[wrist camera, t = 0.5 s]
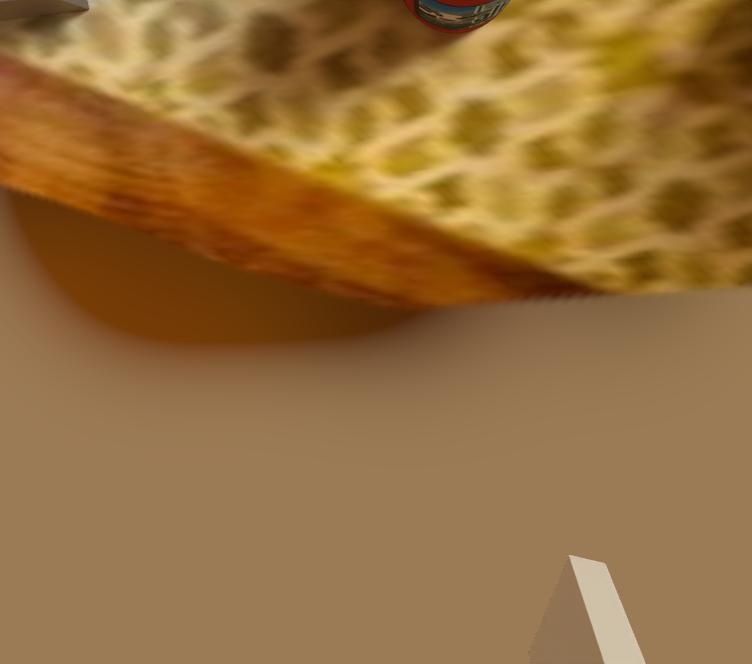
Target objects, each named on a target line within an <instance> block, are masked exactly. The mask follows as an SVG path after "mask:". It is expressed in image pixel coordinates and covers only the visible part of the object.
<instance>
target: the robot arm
mask: <svg viewBox="0 0 752 664" xmlns="http://www.w3.org/2000/svg"><path fill="white" fill-rule="evenodd" d="M528 654H529V660H530V664H646V663H645V661H644V659H643V656H642V654H641V651H640V648H639V646H638V644H637V641H636V639H635V636H634V634H633V631H632V629H631V626H630V624H629V621H628V619H627V616H626V614H625V611H624V609H623V607H622V604H621V602H620V599H619V597H618V594H617V592H616V589H615V587H614V584H613V582H612V579H611V577H610V574H609V572H608V570H607V567H606V565H605V563H601V562H597V561H593V560H588V559H584V558H580V557H575V556H571V555H569V556H568V558H567V560H566V563H565V565H564V568H563V570H562V572H561V575H560V577H559V580H558V582H557V584H556V587H555V589H554V592H553V594H552V596H551V599H550V601H549V604H548V606H547V608H546V611H545V613H544V615H543V618H542V620H541V623H540V625H539V627H538V630H537V632H536V634H535V637H534V639H533V642H532V644H531V646H530V649H529V651H528Z"/></svg>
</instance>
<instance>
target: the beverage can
mask: <svg viewBox="0 0 752 664" xmlns="http://www.w3.org/2000/svg"><path fill="white" fill-rule="evenodd" d="M404 1H405V3H406V5H407V7H408V8H409V9H410V11H411V12H412V13H413V14H414V15H415V16H416V17H417V18H418V19H419V20H420V21H421V22H423V23H424V24H425V25H427V26H429V27H431V28H433V29H435V30H438V31H441V32H446V33H463V32H468V31H472V30H475V29H477V28H480V27H482V26H484V25H485V24H487V23H488V22H490V21H491V20H493V19H494V18H495V17H496V16H497V15H498V14H499V13H500V12H501V11H502V10H503V9H504V8H505V6H506V5H507V4H508V3H509V1H510V0H404Z"/></svg>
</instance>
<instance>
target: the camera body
mask: <svg viewBox="0 0 752 664" xmlns="http://www.w3.org/2000/svg"><path fill="white" fill-rule="evenodd" d="M81 10H89V6H88V2H87V0H0V21H1V20H9V19H17V18H25V17H33V16H41V15H49V14H57V13H65V12H73V11H81Z"/></svg>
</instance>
